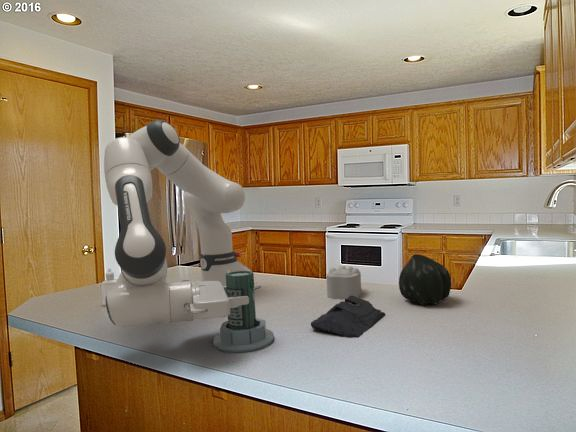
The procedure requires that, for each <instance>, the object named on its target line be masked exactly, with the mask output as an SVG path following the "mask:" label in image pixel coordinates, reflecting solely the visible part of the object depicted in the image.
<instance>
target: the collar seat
mask: <svg viewBox="0 0 576 432" xmlns="http://www.w3.org/2000/svg"><path fill="white" fill-rule="evenodd" d="M266 327H267V326H266V320H265V319H262V318H260V317H259V318H258V317H256V327H254V328H251V329H248V330H232V329H229V325H228V320H227V321H223V322H222V324H220V327H219V330H220V331H219V332H220V333H218V334H216V335H215V337H214V338H213V346H214V347H215V349H216V350H218V351H221V352H225V353H235V354H236V353H238V354H239V353H240V354H241V353H250V352H256V351H259V350H262V349H265V348H267V347H269V346H270V345H272V344H273V342H274V341H275V336H274V332H273V331H272V330H271V329H268V328H266Z"/></svg>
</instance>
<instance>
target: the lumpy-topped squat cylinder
mask: <svg viewBox="0 0 576 432" xmlns="http://www.w3.org/2000/svg"><path fill="white" fill-rule="evenodd" d="M361 274H362V273H361V271H360V270H359V268H357V267H353V266H348V267H347V268H346V267H345V266H343V265H341V266H339V268H338V269H336V268H335V267H331V268H330V269H329V272H328V273H327V274H326V293H327V298H329V299H331V300H332V299H333V300H337V299H339V300H345V299H347V298H348V297H349V296H355V297H357V298H359V297H360V296H361V295H362V282H361V281H362V280H361V277H362V275H361Z"/></svg>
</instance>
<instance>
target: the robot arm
mask: <svg viewBox="0 0 576 432" xmlns="http://www.w3.org/2000/svg"><path fill="white" fill-rule="evenodd" d="M103 156H104V158H103V169H104V170H103V171H104V172H103V173H104V179H105V180H104V181H105V184H106V189H107V191H108V195H109V197H110V200H111V201H112V203H113V204H114V205H115V206H117V209H118V211H117V212H118V216H119V223H120V232H119V235H118V238H117V240H116V243H115V247H114V257H115V261H116V263H117V264H118V266H119V268H120V269H121V271H120V274H119V275H118V278H117V279H116V280H117V282H116V283H115V285H114V286H113V288H112V289H111V290H110V291H109V292H108V293H107V294H106V306H105V307H106V312H107V314H108V318H109V321H110V322H111V323H112V324H113V325H114V326H116V327H118V328H140V327H141V328H143V327H151V326H154V325H156V324H159V323H160V324H161V323H166V324H174V323H184V322H191V321H194V318H195V319H202V320H203V319H204V320H205V319H215V318H225V317H228V315H230V308H235V307H238V306H241V305H246V304H249V297H248V296H247V295H241V296H240V297H234V298H233V297H228V296H227V289H226V274H227V273H230V272H235V271H251V272H253V271H252V270H251V269H250V268H249V267H247V266H245V265H244V264H243V263H241V262H240V261H239V260H238V258H242V257H243V255H244V254H243V252H242V251H236V252H235V251H234V249H233V234H232V229H231V227H230V226H229V225H228V224H226V222H225V220H224V219H223V216H222V214H229V213H234V212H237V211H239V210H240V209H241V208H242V207H244V204H245V200H246V194H245V191H244V188H243V186H242V185H241V184H239V183H238V182H235V181H233V180H232V181H231V180H229V179H227V178H225V177H223V176H221V175H220V174H218V173H217V172H215V171H213V169H210V168H209V167H207V165H205V164H203V162H201V161H200V160H199V159H198V158H197V157H196V156H195V155H194V154H193V153H192V152H191V151H189V149H188V148H187V147H185V146H184V145H183V144H182V143H181V140H180V136H179V134H178V132H177V131H176V129H175V128H174V127H173V126H172V125H171V124H170V123H169V122H167V120H161V119H155V120H153V121H151V122H149V123H147V124H146V125H144V126H143V127H141V128H139V129H138V130H136V131H134V132H133V133H131V134H130V135H129V136H128V137H127V136H126V137H125V136H123V137H122V136H120V137H116V138H114V139H112V140H111V141H109V142H108V143H107V145H106V147H105V149H104V155H103ZM155 168H156V169H157V170H158V171H159V172H160V173H161V174H162V175H164V177H166V178H167V179H168V180H169V181H170V182H172V184H173V185H175V186H176V187H177V188H178V189H179V190H181V191H184V194H183V203H184V206H185V207H186V208H187V210H189V211H190V213H191V214H192V216H193V219H195V220H194V221H195V223H196V226H197V229H198V234H199V244H200V253H199V264H200V269H201V277H200V278H201V279H200V280H198V281H197V280H196V281H191V280H190V279H183V280H181V281H175V282H166V280H167V277H168V272H169V271H168V263H167V246H166V243H165V240H164V238H163V237H162V236H161V234H160V233H159V232H158V231H157V229H156V228H155V227H154V225H153V224H152V220H151V217H150V212H149V207H148V203H149V201H150V200H151V199H152V198H153V179H152V177H153V176H152V172H151V171H152V170H154V169H155ZM258 288H261V283H259V282H258V281H254V290H257V289H258Z"/></svg>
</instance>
